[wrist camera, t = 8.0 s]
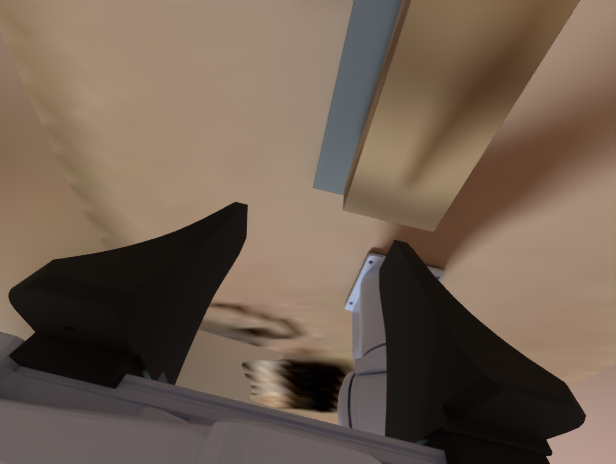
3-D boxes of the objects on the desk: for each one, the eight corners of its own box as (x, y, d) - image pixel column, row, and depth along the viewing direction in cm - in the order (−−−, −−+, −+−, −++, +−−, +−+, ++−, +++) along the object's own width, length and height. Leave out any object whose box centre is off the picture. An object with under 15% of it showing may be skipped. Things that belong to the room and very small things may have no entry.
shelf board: (421, 206, 17) (433, 232, 14) (344, 188, 17) (343, 210, 14) (609, -134, 8) (712, -208, 6) (454, -170, 8) (495, -258, 6)
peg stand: (425, 208, 21) (438, 236, 18) (314, 181, 21) (307, 205, 18) (620, -138, 11) (744, -228, 7) (396, -190, 11) (417, -304, 7)
